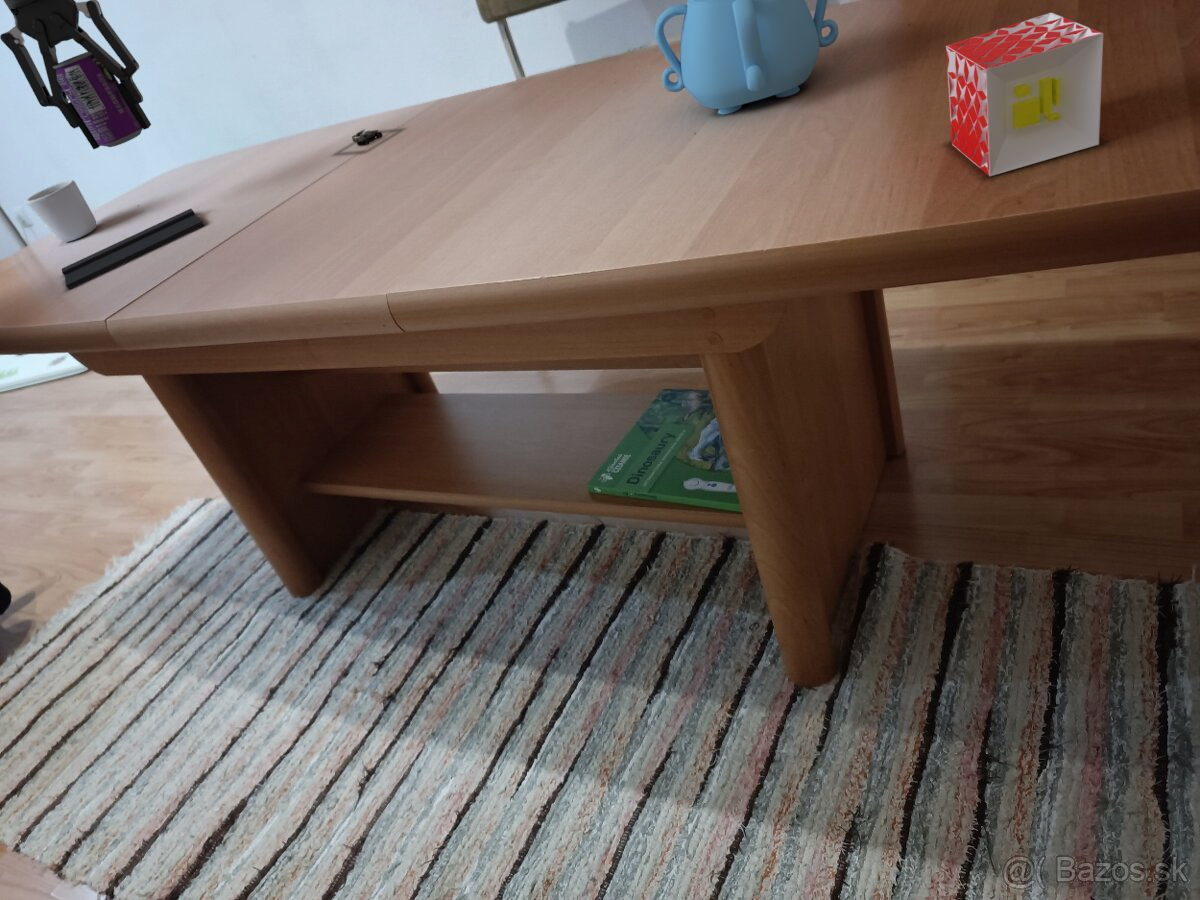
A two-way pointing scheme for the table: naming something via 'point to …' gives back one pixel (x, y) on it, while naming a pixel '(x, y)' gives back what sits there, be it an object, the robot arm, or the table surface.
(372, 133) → the toy car
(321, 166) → the table surface
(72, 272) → the slotted black track
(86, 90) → the beverage can
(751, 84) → the decorative pot
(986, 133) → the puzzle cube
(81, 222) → the cup
